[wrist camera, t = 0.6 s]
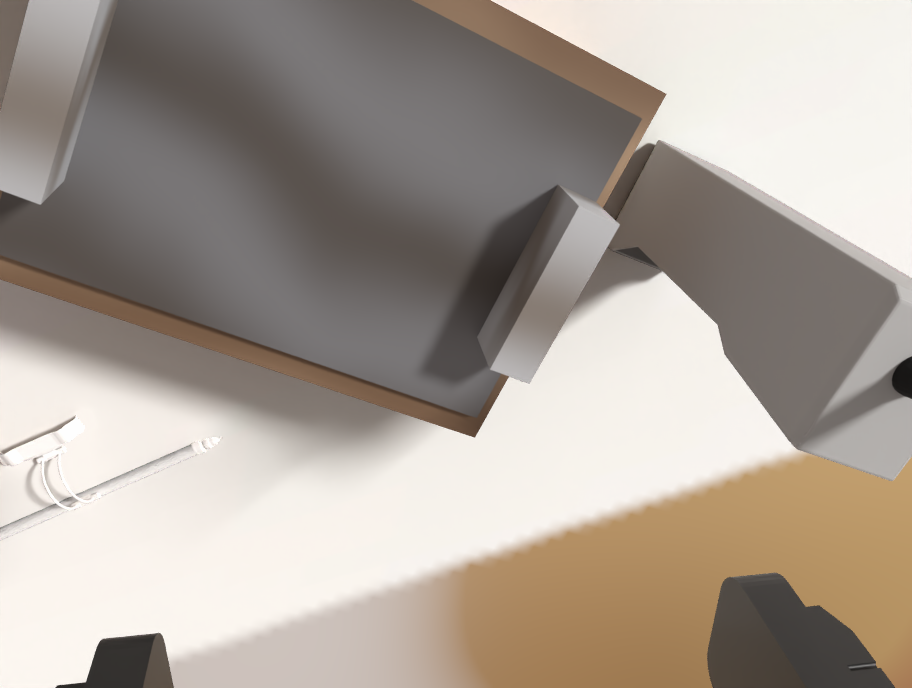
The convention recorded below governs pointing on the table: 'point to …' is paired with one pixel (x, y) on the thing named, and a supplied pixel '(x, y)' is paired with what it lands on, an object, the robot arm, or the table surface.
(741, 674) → the robot arm
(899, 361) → the vintage mobile phone
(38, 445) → the picture light
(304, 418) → the table surface
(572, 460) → the table surface
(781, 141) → the table surface
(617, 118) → the tray
